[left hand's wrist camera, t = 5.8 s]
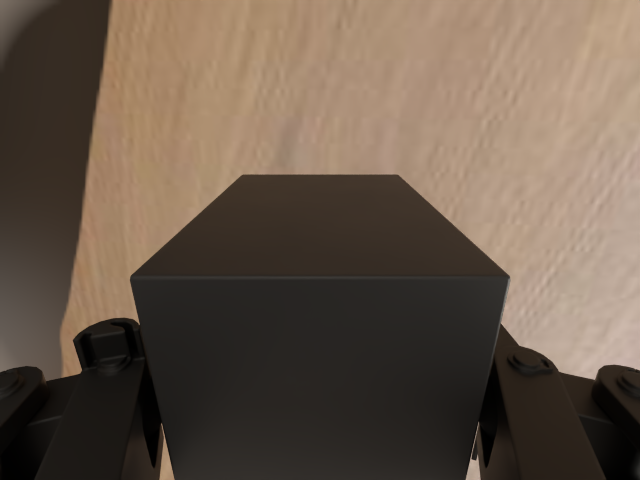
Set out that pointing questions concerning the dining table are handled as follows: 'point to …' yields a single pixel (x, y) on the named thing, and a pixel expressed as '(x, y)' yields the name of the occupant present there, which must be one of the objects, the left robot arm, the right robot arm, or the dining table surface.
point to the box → (320, 333)
